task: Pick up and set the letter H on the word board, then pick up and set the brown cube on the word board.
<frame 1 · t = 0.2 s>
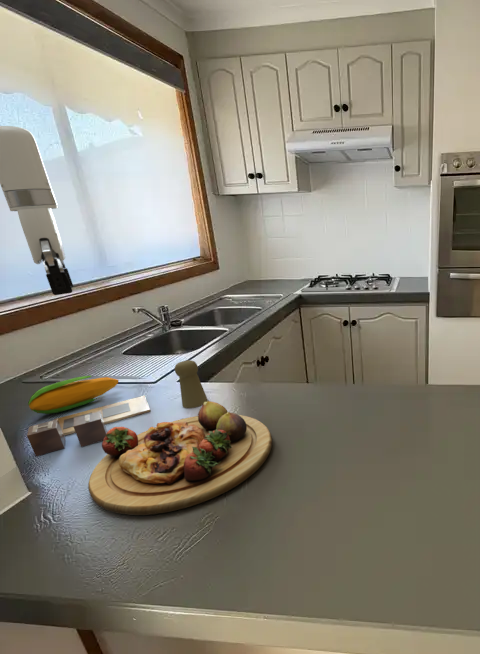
hand: (64, 290, 87), 31 cm above the table, tool pointing down, fingers open, 9 cm apart
word board: (103, 416, 103), on the table
corn: (80, 405, 111), on the table
pepper mill: (195, 403, 106), on the table
wooden plate: (188, 462, 81), on the table
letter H: (51, 447, 90), on the table
brown cube: (94, 438, 92), on the table
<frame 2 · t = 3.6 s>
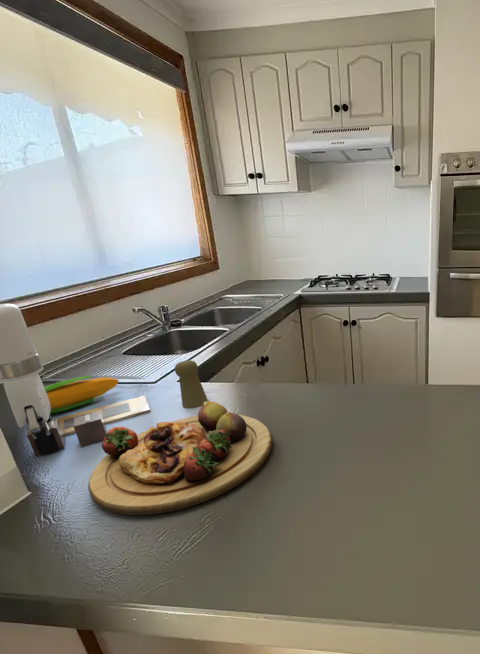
hand: (50, 445, 90), 0 cm above the table, tool pointing down, fingers closed on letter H, 5 cm apart
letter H: (51, 447, 90), on the table, touching gripper
everything else where it was.
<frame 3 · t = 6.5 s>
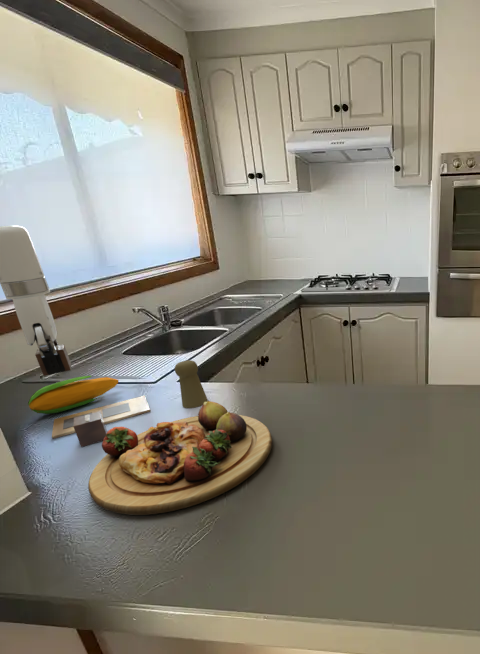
hand: (57, 368, 95), 14 cm above the table, tool pointing down, fingers closed on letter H, 5 cm apart
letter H: (58, 370, 95), point 14 cm above the table, touching gripper
everything else where it was.
when the fingers open (1 cm above the table, at t = 9.7 s): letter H stays where it is, resting on word board.
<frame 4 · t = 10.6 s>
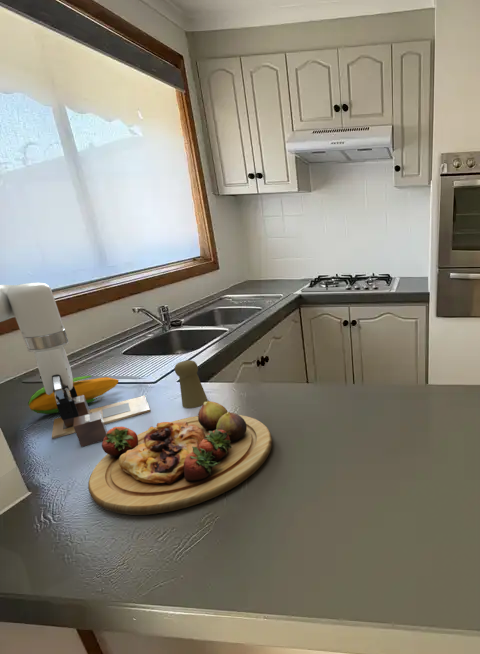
hand: (71, 410, 99), 4 cm above the table, tool pointing down, fingers open, 9 cm apart
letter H: (78, 420, 100), point 1 cm above the table, touching word board
everything else where it was.
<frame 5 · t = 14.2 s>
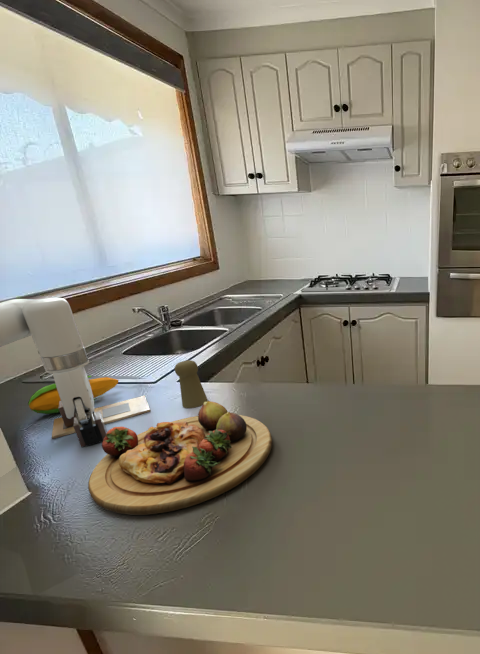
hand: (94, 436, 92), 0 cm above the table, tool pointing down, fingers closed on brown cube, 5 cm apart
brown cube: (94, 438, 92), on the table, touching gripper
everything else where it was.
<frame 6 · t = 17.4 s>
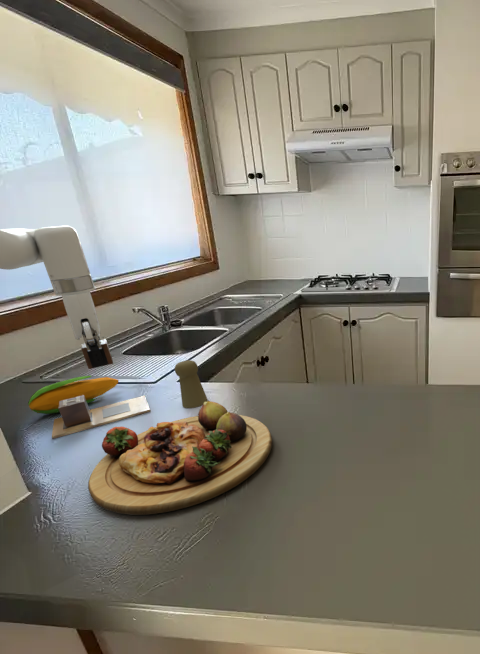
hand: (100, 362, 99), 13 cm above the table, tool pointing down, fingers closed on brown cube, 5 cm apart
brown cube: (100, 363, 99), point 13 cm above the table, touching gripper
everything else where it was.
when the fingers open (1 cm above the table, at t = 20.4 s): brown cube stays where it is, resting on word board.
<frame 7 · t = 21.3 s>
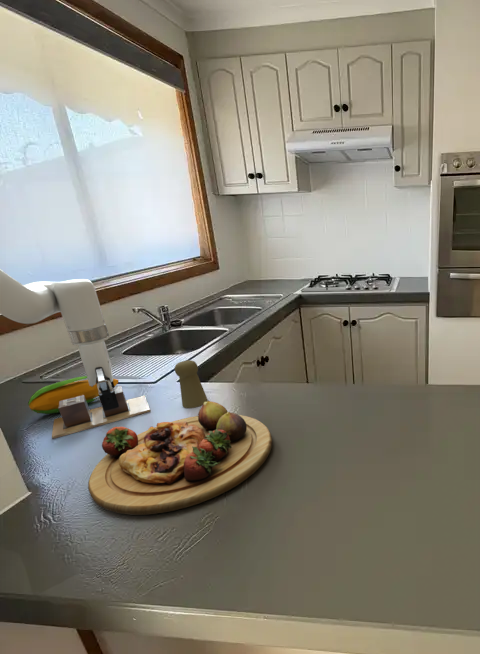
hand: (110, 401, 103), 3 cm above the table, tool pointing down, fingers open, 9 cm apart
brown cube: (116, 409, 104), point 1 cm above the table, touching word board
everything else where it was.
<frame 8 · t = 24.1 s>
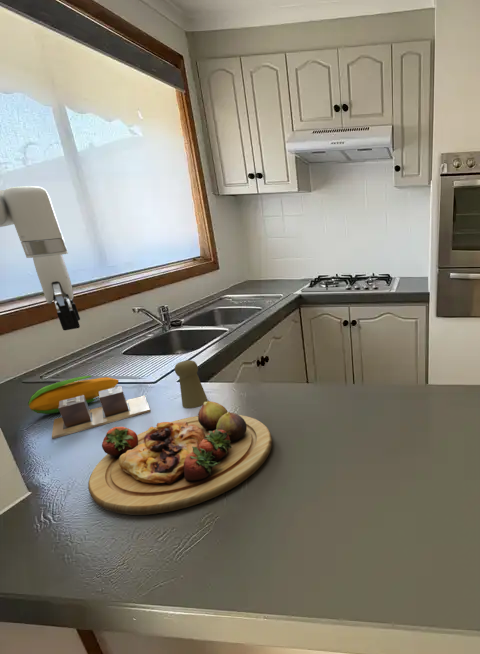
hand: (72, 324, 98), 22 cm above the table, tool pointing down, fingers open, 9 cm apart
nothing on the table moved.
at the end: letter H 0.1 cm from the target spot, point 0.7 cm above the table; brown cube 0.0 cm from the target spot on the table beside the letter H, resting on word board; brown cube tilted 0° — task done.
